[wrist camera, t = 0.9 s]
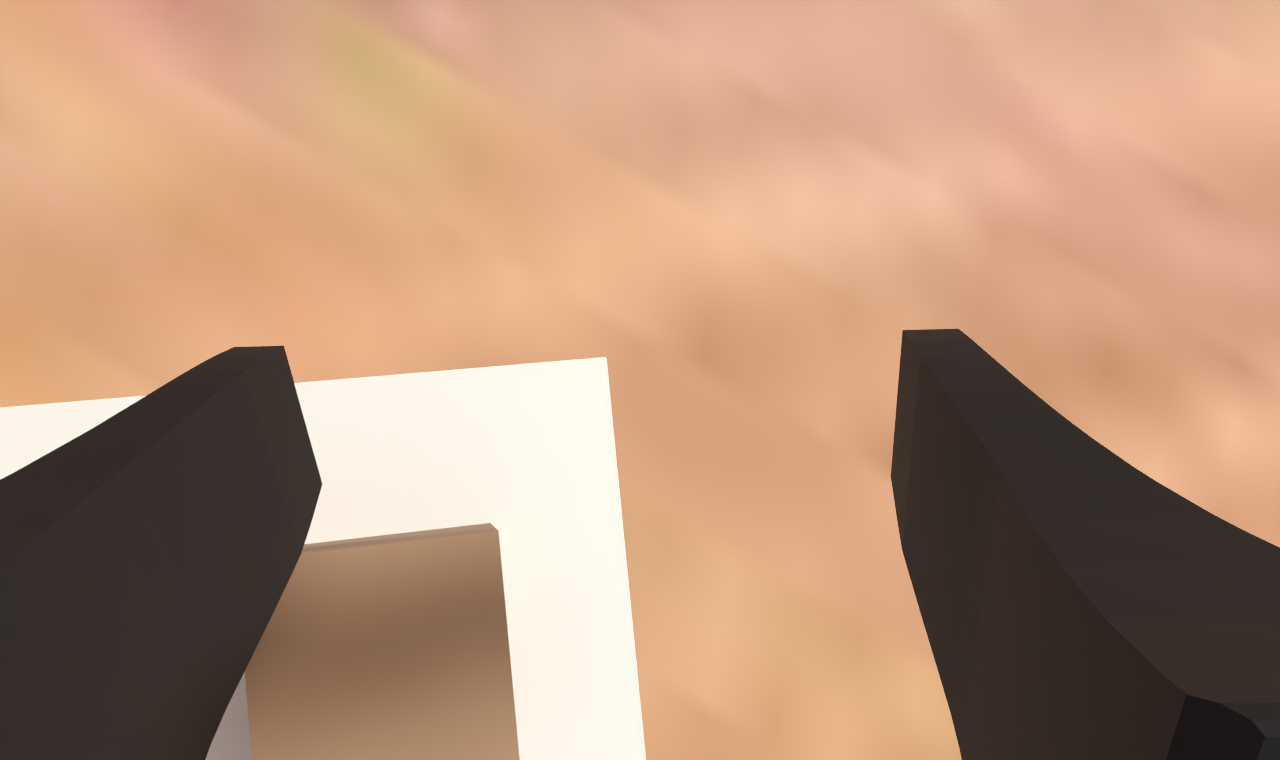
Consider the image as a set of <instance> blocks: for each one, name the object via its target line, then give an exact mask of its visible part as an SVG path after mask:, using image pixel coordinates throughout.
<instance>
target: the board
mask: <svg viewBox="0 0 1280 760" xmlns="http://www.w3.org/2000/svg"><path fill="white" fill-rule="evenodd" d="M294 385H295V388H296V392H297V395H298V399H299V402H300V406H301V410H302V413H303V417H304V420H305V424H306V427H307V431H308V435H309V438H310V442H311V445H312V449H313V452H314V456H315V460H316V463H317V467H318V470H319V474H320V477H321V481H322V487H321V491H320V494H319V498H318V501H317V505H316V508H315V512H314V515H313V519H312V522H311V525H310V528H309V531H308V534H307V537H306V540H305V543H304V544H311V543H320V542H328V541H337V540H346V539H354V538H363V537H372V536H381V535H389V534H398V533H407V532H415V531H424V530H433V529H442V528H450V527H459V526H468V525H476V524H485V523H491V524H492V525H493V526H494V527H495V528H496V529H497V530H498V531H499V541H500V552H501V563H502V574H503V585H504V596H505V606H506V617H507V628H508V639H509V650H510V661H511V671H512V682H513V693H514V704H515V715H516V726H517V736H518V747H519V758H520V760H646V755H645V745H644V735H643V725H642V715H641V704H640V694H639V684H638V674H637V664H636V654H635V643H634V633H633V623H632V613H631V603H630V593H629V582H628V572H627V562H626V552H625V542H624V532H623V521H622V511H621V501H620V491H619V481H618V471H617V460H616V450H615V440H614V430H613V420H612V410H611V400H610V389H609V379H608V369H607V359H606V357H601V358H589V359H577V360H565V361H553V362H541V363H529V364H517V365H505V366H493V367H481V368H469V369H457V370H445V371H433V372H421V373H409V374H397V375H385V376H373V377H361V378H349V379H337V380H325V381H313V382H301V383H294ZM146 396H147V395H146ZM144 397H145V396H134V397H122V398H110V399H98V400H86V401H74V402H62V403H50V404H38V405H26V406H14V407H2V408H0V480H1V479H3V478H5V477H6V476H8V475H10V474H12V473H14V472H16V471H17V470H19V469H21V468H23V467H25V466H26V465H28V464H30V463H32V462H33V461H35V460H37V459H39V458H41V457H42V456H44V455H46V454H48V453H50V452H51V451H53V450H55V449H57V448H59V447H60V446H62V445H64V444H66V443H67V442H69V441H71V440H73V439H75V438H76V437H78V436H80V435H82V434H84V433H85V432H87V431H89V430H90V429H92V428H94V427H96V426H97V425H99V424H101V423H102V422H104V421H105V420H107V419H109V418H110V417H112V416H114V415H115V414H117V413H119V412H120V411H122V410H124V409H125V408H127V407H129V406H130V405H132V404H134V403H135V402H137V401H139V400H140V399H142V398H144ZM205 760H252V755H251V743H250V730H249V718H248V705H247V692H246V680H245V672H244V674H243V676H242V678H241V680H240V682H239V684H238V686H237V688H236V690H235V692H234V694H233V696H232V698H231V700H230V702H229V704H228V706H227V708H226V711H225V713H224V715H223V718H222V720H221V722H220V725H219V727H218V729H217V731H216V734H215V736H214V738H213V741H212V743H211V745H210V748H209V751H208V754H207V756H206V759H205Z"/></svg>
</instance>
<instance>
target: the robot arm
mask: <svg viewBox="0 0 1280 760" xmlns="http://www.w3.org/2000/svg"><path fill="white" fill-rule="evenodd" d="M891 480H892V487H893V493H894V500H895V507H896V514H897V520H898V526H899V533H900V539H901V545H902V550H903V554H904V557H905V561H906V564H907V568H908V571H909V575H910V578H911V581H912V585H913V588H914V592H915V595H916V598H917V602H918V605H919V609H920V612H921V615H922V619H923V622H924V625H925V629H926V632H927V635H928V639H929V642H930V645H931V648H932V652H933V655H934V658H935V662H936V665H937V668H938V672H939V675H940V678H941V682H942V685H943V688H944V692H945V695H946V698H947V702H948V705H949V708H950V712H951V716H952V720H953V724H954V728H955V732H956V736H957V740H958V744H959V748H960V752H961V758H962V760H1280V548H1279V547H1277V546H1275V545H1273V544H1271V543H1269V542H1266V541H1264V540H1262V539H1260V538H1258V537H1256V536H1254V535H1252V534H1250V533H1248V532H1246V531H1244V530H1242V529H1240V528H1238V527H1236V526H1234V525H1232V524H1230V523H1228V522H1226V521H1224V520H1222V519H1221V518H1219V517H1217V516H1215V515H1213V514H1211V513H1209V512H1208V511H1206V510H1204V509H1202V508H1201V507H1199V506H1197V505H1196V504H1194V503H1192V502H1190V501H1189V500H1187V499H1185V498H1184V497H1182V496H1180V495H1178V494H1177V493H1175V492H1173V491H1171V490H1170V489H1168V488H1166V487H1165V486H1163V485H1161V484H1159V483H1158V482H1156V481H1155V480H1153V479H1151V478H1150V477H1148V476H1147V475H1145V474H1144V473H1142V472H1140V471H1139V470H1137V469H1136V468H1134V467H1133V466H1131V465H1130V464H1128V463H1127V462H1125V461H1124V460H1122V459H1121V458H1120V457H1118V456H1117V455H1115V454H1114V453H1112V452H1111V451H1110V450H1108V449H1107V448H1105V447H1104V446H1102V445H1101V444H1100V443H1098V442H1097V441H1095V440H1094V439H1092V438H1091V437H1090V436H1088V435H1087V434H1086V433H1084V432H1083V431H1082V430H1080V429H1079V428H1078V427H1076V426H1075V425H1074V424H1072V423H1071V422H1070V421H1068V420H1067V419H1066V418H1064V417H1063V416H1062V415H1061V414H1059V413H1058V412H1057V411H1056V410H1054V409H1053V408H1052V407H1050V406H1049V405H1048V404H1047V403H1046V402H1044V401H1043V400H1042V399H1041V398H1039V397H1038V396H1037V395H1036V394H1034V393H1033V392H1032V391H1031V390H1030V389H1028V388H1027V387H1026V386H1025V385H1024V384H1022V383H1021V382H1020V381H1019V380H1018V379H1017V378H1015V377H1014V376H1013V375H1012V374H1011V373H1010V372H1008V371H1007V370H1006V369H1005V368H1004V367H1003V366H1001V365H1000V364H999V363H998V362H997V361H996V360H995V359H993V358H992V357H991V356H990V355H989V354H988V353H987V352H985V351H984V350H983V349H982V348H981V347H980V346H978V345H977V344H976V343H975V342H974V341H973V340H971V339H970V338H969V337H968V336H967V335H965V334H964V333H963V332H962V331H960V330H959V329H934V330H903V334H902V346H901V358H900V371H899V383H898V395H897V408H896V420H895V432H894V445H893V457H892V469H891ZM321 487H322V481H321V477H320V474H319V470H318V467H317V463H316V460H315V456H314V452H313V449H312V445H311V442H310V438H309V435H308V431H307V427H306V424H305V420H304V417H303V413H302V410H301V406H300V402H299V399H298V395H297V392H296V388H295V385H294V381H293V377H292V374H291V370H290V367H289V363H288V360H287V356H286V352H285V349H284V346H262V347H234V348H231V349H229V350H227V351H225V352H222V353H220V354H218V355H216V356H214V357H212V358H210V359H208V360H207V361H205V362H203V363H201V364H199V365H197V366H196V367H194V368H192V369H191V370H189V371H187V372H185V373H184V374H182V375H180V376H179V377H177V378H175V379H173V380H172V381H170V382H168V383H167V384H165V385H163V386H162V387H160V388H158V389H157V390H155V391H154V392H152V393H150V394H149V395H147V396H145V397H144V398H142V399H140V400H139V401H137V402H135V403H134V404H132V405H130V406H129V407H127V408H125V409H124V410H122V411H120V412H119V413H117V414H115V415H114V416H112V417H110V418H109V419H107V420H105V421H104V422H102V423H101V424H99V425H97V426H96V427H94V428H92V429H90V430H89V431H87V432H85V433H84V434H82V435H80V436H78V437H76V438H75V439H73V440H71V441H69V442H67V443H66V444H64V445H62V446H60V447H59V448H57V449H55V450H53V451H51V452H50V453H48V454H46V455H44V456H42V457H41V458H39V459H37V460H35V461H33V462H32V463H30V464H28V465H26V466H25V467H23V468H21V469H19V470H17V471H16V472H14V473H12V474H10V475H8V476H6V477H5V478H3V479H1V480H0V760H205V759H206V756H207V754H208V751H209V748H210V745H211V743H212V741H213V738H214V736H215V734H216V731H217V729H218V727H219V725H220V722H221V720H222V718H223V715H224V713H225V711H226V708H227V706H228V704H229V702H230V700H231V698H232V696H233V694H234V692H235V690H236V688H237V686H238V684H239V682H240V680H241V678H242V676H243V674H244V672H245V670H246V668H247V666H248V664H249V662H250V659H251V657H252V655H253V653H254V651H255V649H256V647H257V645H258V643H259V641H260V639H261V637H262V635H263V633H264V631H265V629H266V627H267V625H268V623H269V621H270V619H271V617H272V615H273V613H274V611H275V608H276V606H277V604H278V602H279V600H280V598H281V596H282V594H283V592H284V590H285V587H286V585H287V583H288V581H289V579H290V577H291V575H292V573H293V571H294V568H295V566H296V564H297V562H298V560H299V557H300V555H301V553H302V550H303V547H304V543H305V540H306V537H307V534H308V531H309V528H310V525H311V522H312V519H313V515H314V512H315V508H316V505H317V501H318V498H319V494H320V491H321Z"/></svg>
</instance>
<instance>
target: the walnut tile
mask: <svg viewBox="0 0 1280 760" xmlns="http://www.w3.org/2000/svg"><path fill="white" fill-rule="evenodd" d="M245 680H246V692H247V705H248V718H249V730H250V743H251V755H252V760H520V758H519V747H518V736H517V726H516V715H515V704H514V693H513V682H512V671H511V661H510V650H509V639H508V628H507V617H506V606H505V596H504V585H503V574H502V563H501V552H500V541H499V531H498V530H497V529H496V528H495V527H494V526H493V525H492V524H491V523H485V524H476V525H468V526H459V527H450V528H442V529H433V530H424V531H415V532H407V533H398V534H389V535H381V536H372V537H363V538H354V539H346V540H337V541H328V542H320V543H311V544H304V547H303V550H302V553H301V555H300V557H299V560H298V562H297V564H296V566H295V568H294V571H293V573H292V575H291V577H290V579H289V581H288V583H287V585H286V587H285V590H284V592H283V594H282V596H281V598H280V600H279V602H278V604H277V606H276V608H275V611H274V613H273V615H272V617H271V619H270V621H269V623H268V625H267V627H266V629H265V631H264V633H263V635H262V637H261V639H260V641H259V643H258V645H257V647H256V649H255V651H254V653H253V655H252V657H251V659H250V662H249V664H248V666H247V668H246V670H245Z"/></svg>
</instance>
